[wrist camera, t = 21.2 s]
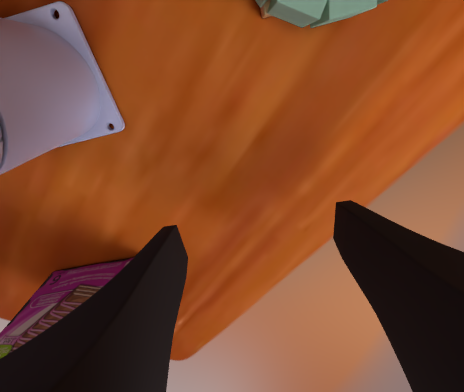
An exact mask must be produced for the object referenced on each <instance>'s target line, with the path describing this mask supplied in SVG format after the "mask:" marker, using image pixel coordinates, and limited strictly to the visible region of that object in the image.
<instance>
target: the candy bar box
mask: <svg viewBox="0 0 464 392" xmlns="http://www.w3.org/2000/svg"><path fill="white" fill-rule="evenodd" d="M132 259H133V258H129V259H123V260H118V261H112V262H107V263H101V264H95V265H89V266H84V267H78V268H72V269H66V270H60V271H54V272H52V274H51V275H50V276H49V277H48V278H47V279H46V281H45V282H44V283H43V284H42V285H41V286H40V288H39V289H38V290H37V291H36V292H35V293H34V295H33V296H32V297H31V298H30V299H29V300H28V302H27V303H26V304H25V305H24V306H23V307H22V309H21V310H20V311H19V312H18V313H17V314H16V316H15V317H14V318H13V319H12V320H11V322H10V323H9V324H8V325H7V326H6V327H5V328H4V329H3V331H2V332H1V333H0V359H1V358H2V357H4V356H6V355H7V354H9V353H11V352H12V351H14V350H15V349H17V348H19V347H20V346H22V345H23V344H25V343H26V342H28V341H29V340H31V339H33V338H34V337H36V336H37V335H39V334H40V333H42V332H43V331H45V330H46V329H48V328H49V327H50V326H52V325H53V324H55V323H56V322H58V321H59V320H60V319H62V318H63V317H65V316H66V315H67V314H69V313H70V312H71V311H73V310H74V309H75V308H77V307H78V306H79V305H81V304H82V303H83V302H85V301H86V300H87V299H89V298H90V297H91V296H92V295H93V294H95V293H96V292H97V291H98V290H99V289H101V288H102V287H103V286H104V285H105V284H107V283H108V282H109V281H110V280H111V279H112V278H113V277H114V276H115V275H116V274H117V273H119V272H120V271H121V270H122V269H123V268H124V267H125V266H126V265H127V264H128V263H129V262H130V261H131V260H132Z"/></svg>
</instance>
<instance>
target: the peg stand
mask: <svg viewBox="0 0 464 392" xmlns="http://www.w3.org/2000/svg"><path fill="white" fill-rule="evenodd" d="M270 1H271V0H267V1H266V2H265V3H264V5H263V6H262V7H260V8H261V16H262V18H267V17H270V16H272V15H269V14H268V13H267V11H268V8H269V5H270Z"/></svg>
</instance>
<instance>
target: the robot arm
mask: <svg viewBox="0 0 464 392" xmlns="http://www.w3.org/2000/svg"><path fill="white" fill-rule="evenodd" d="M55 10H57V11H58V12H59V15H60V16H59V18H58V19H57V18H56V17H55V15H54V12H55ZM110 123H111V124H113V126H114V129H112V128H110V126H109V124H110ZM124 128H125V123H124V121H123V119H122V116H121V114H120V112H119V110H118V108H117V105H116V103H115V101H114V99H113V97H112V95H111V92H110V90H109V88H108V86H107V84H106V82H105V79H104V77H103V75H102V73H101V71H100V68H99V66H98V64H97V62H96V60H95V58H94V55H93V53H92V51H91V49H90V47H89V45H88V42H87V40H86V38H85V36H84V34H83V31H82V29H81V27H80V25H79V23H78V21H77V18H76V16H75V14H74V12H73V10H72V8H71V7H70V6H69V5H68V4H66V3H64V2H61V1H59V2H55V3H51V4H48V5H45V6H42V7H39V8H36V9H32V10H29V11H26V12H23V13H20V14H16V15H13V16H10V17H7V18H0V175H1V174H3V173H5V172H7V171H9V170H11V169H13V168H15V167H17V166H19V165H21V164H23V163H25V162H27V161H29V160H31V159H34V158H36V157H38V156H40V155H42V154H44V153H46V152H48V151H50V150H52V149H54V148H56V147H60V146H64V145H68V144H72V143H76V142H80V141H84V140H88V139H92V138H96V137H100V136H104V135H108V134H112V133H116V132H120V131H122V130H124ZM333 239H334V241H335V243H336V246H337V248H338V250H339V252H340V255H341V257H342V259H343V260H344V262H345V264H346V265H347V267H348V269H349V270H350V272H351V274H352V275H353V277H354V279H355V280H356V282H357V283H358V285H359V287H360V288H361V290H362V291H363V293H364V294H365V296H366V298H367V299H368V301H369V303H370V304H371V306H372V308H373V310H374V311H375V313H376V315H377V317H378V319H379V321H380V323H381V325H382V327H383V329H384V331H385V333H386V335H387V337H388V339H389V341H390V343H391V345H392V347H393V349H394V351H395V354H396V356H397V358H398V360H399V362H400V364H401V366H402V368H403V371H404V373H405V375H406V377H407V380H408V382H409V384H410V386H411V389H412V391H413V392H464V252H462V251H459V250H456V249H454V248H451V247H449V246H446V245H443V244H441V243H438V242H436V241H434V240H431V239H429V238H427V237H425V236H422V235H420V234H418V233H416V232H413V231H411V230H409V229H407V228H405V227H403V226H401V225H399V224H397V223H395V222H392V221H391V220H388V219H387V218H385V217H382V216H381V215H379V214H377V213H375V212H373V211H371V210H369V209H367V208H365V207H363V206H361V205H359V204H357V203H355V202H353V201H351V200H350V201H343V202H336V210H335V223H334V237H333ZM187 263H188V256H187V253H186V250H185V247H184V245H183V242H182V239H181V236H180V233H179V231H178V228H177V225H173V226H166V227H163V228H162V229H161V230H160V231H159V232H158V233H157V234H156V235H155V236H154V237H153V238H152V239H151V240H150V241H149V242H148V243H147V245H146V246H145V247H144V248H143V249H142V250H141V251H140V252H139V253H138V254H137V255H136V256H135V257H134V258H133V259H132V260H131V261H130V262H129V263H128V264H127V265H126V266H125V267H124V268H123V269H122V270H121V271H120V272H119V273H117V274H116V275H115V276H114V277H113V278H112V279H111V280H110V281H109V282H108V283H107V284H105V285H104V286H103V287H102V288H101V289H99V290H98V291H97V292H96V293H95V294H93V295H92V296H91V297H90V298H89V299H87V300H86V301H85V302H83V303H82V304H81V305H79V306H78V307H77V308H75V309H74V310H73V311H71V312H70V313H69V314H67V315H66V316H65V317H63V318H62V319H60V320H59V321H58V322H56V323H55V324H53V325H52V326H50V327H49V328H48V329H46V330H45V331H43V332H42V333H40V334H39V335H37V336H36V337H34V338H33V339H31V340H29V341H28V342H26V343H25V344H23V345H22V346H20V347H19V348H17V349H15V350H14V351H12V352H11V353H9V354H7V355H6V356H4V357H2V358H1V359H0V392H166V387H167V378H168V370H169V361H170V354H171V346H172V339H173V333H174V328H175V324H176V319H177V315H178V311H179V306H180V302H181V298H182V294H183V289H184V285H185V280H186V274H187Z"/></svg>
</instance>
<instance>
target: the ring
mask: <svg viewBox="0 0 464 392" xmlns="http://www.w3.org/2000/svg"><path fill="white" fill-rule="evenodd" d="M255 1H256V2H257V4H258V5H259V7H262V6H263V5H264V3H265V2H266V1H267V0H255ZM385 1H388V0H271V1H270V5H269V8H268V11H267V13H268V14H269V15H272V16H274V17H277V18H279V19H282V20H284V21H287V22H289V23H291V24H294V25H296V26H299V27H301V28H303V27H305V26H307V25H309V24H310V27H311V28H314V27H317V26H321V25H325V24H328V23H332V22H336V21H339V20H343V19H347V18H350V17H352V16H355V15H358V14H360V13H363V12H365V11H368V10H371V9H373V8H376V7H377V5H378V4H380V3H383V2H385Z"/></svg>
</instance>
